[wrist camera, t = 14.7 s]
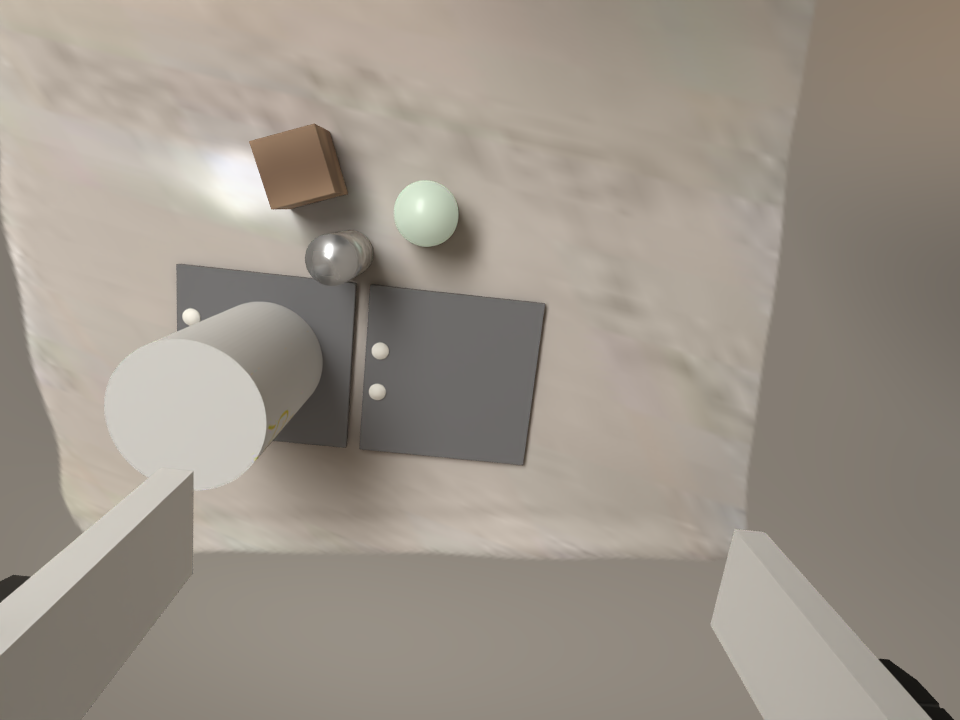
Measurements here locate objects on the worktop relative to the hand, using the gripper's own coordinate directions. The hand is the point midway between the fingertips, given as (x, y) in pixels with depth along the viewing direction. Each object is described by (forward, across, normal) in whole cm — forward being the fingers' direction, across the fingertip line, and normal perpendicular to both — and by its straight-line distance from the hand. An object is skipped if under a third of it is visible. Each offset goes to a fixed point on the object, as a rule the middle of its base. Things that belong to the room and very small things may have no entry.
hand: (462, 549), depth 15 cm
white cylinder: (+28, -14, -4) cm, 32 cm away
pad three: (+29, -14, -4) cm, 32 cm away
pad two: (+29, -1, -4) cm, 29 cm away
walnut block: (+29, -12, +9) cm, 32 cm away
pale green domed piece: (+29, -4, +7) cm, 30 cm away
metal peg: (+29, -8, +4) cm, 30 cm away
